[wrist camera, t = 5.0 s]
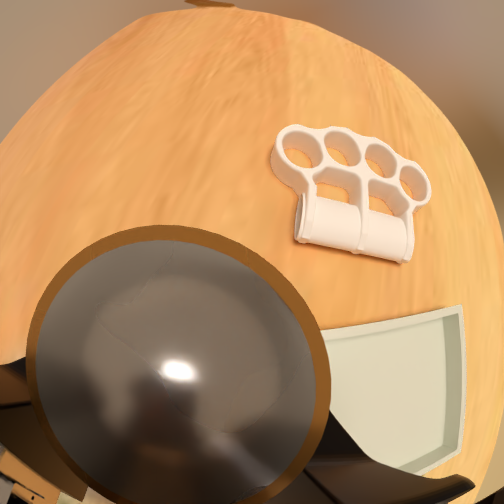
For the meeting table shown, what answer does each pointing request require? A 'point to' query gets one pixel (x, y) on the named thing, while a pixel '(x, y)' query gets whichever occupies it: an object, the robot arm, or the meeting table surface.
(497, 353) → the meeting table surface
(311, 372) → the grey cylinder
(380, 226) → the white brass knuckles
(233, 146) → the meeting table surface
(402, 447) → the tray
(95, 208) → the meeting table surface
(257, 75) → the meeting table surface
